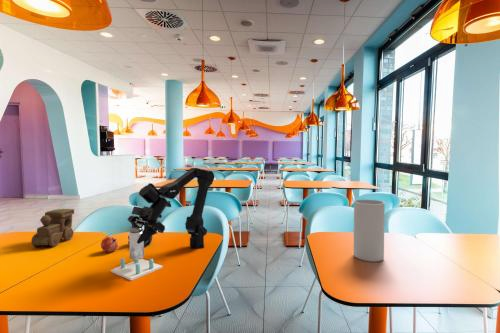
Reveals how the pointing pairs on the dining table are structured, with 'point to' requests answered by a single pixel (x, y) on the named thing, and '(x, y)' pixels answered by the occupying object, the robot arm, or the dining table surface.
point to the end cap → (145, 241)
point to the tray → (132, 272)
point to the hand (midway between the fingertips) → (133, 241)
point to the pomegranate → (109, 244)
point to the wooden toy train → (54, 228)
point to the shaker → (136, 248)
